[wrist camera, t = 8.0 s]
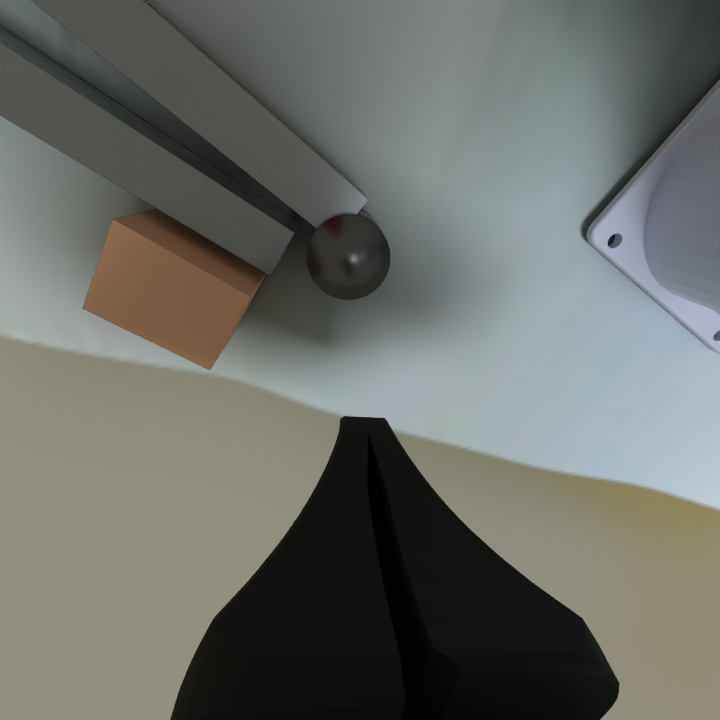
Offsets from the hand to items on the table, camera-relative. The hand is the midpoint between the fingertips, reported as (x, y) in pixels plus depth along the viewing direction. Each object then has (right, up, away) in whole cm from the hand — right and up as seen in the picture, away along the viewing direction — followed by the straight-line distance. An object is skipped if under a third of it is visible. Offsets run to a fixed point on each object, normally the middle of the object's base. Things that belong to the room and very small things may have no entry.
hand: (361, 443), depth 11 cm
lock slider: (-6, +6, +2) cm, 9 cm away
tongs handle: (-8, +10, 0) cm, 13 cm away
